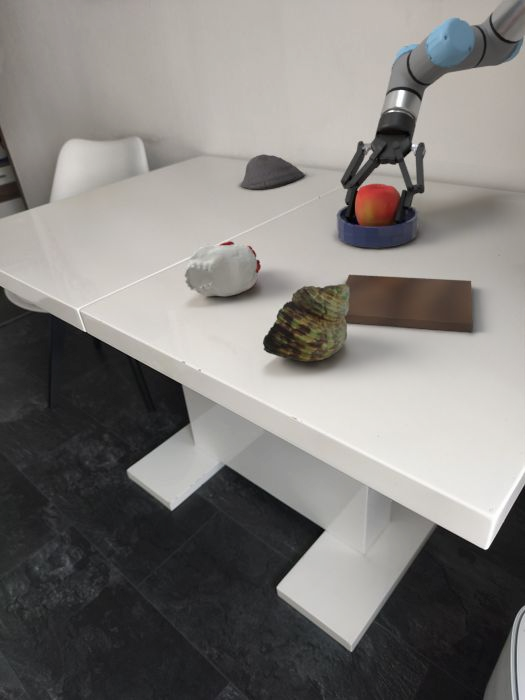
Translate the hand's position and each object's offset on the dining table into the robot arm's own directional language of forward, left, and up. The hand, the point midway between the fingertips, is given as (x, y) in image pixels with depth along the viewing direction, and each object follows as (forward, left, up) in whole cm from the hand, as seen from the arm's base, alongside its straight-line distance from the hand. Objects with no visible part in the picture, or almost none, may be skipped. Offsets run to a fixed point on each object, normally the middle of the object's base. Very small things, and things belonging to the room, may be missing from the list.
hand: (372, 221), depth 108 cm
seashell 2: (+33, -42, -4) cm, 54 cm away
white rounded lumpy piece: (+21, +25, -4) cm, 33 cm away
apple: (0, -3, -4) cm, 5 cm away
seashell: (+3, +43, -4) cm, 43 cm away
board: (-9, +27, -4) cm, 29 cm away
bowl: (-1, -3, -4) cm, 5 cm away
